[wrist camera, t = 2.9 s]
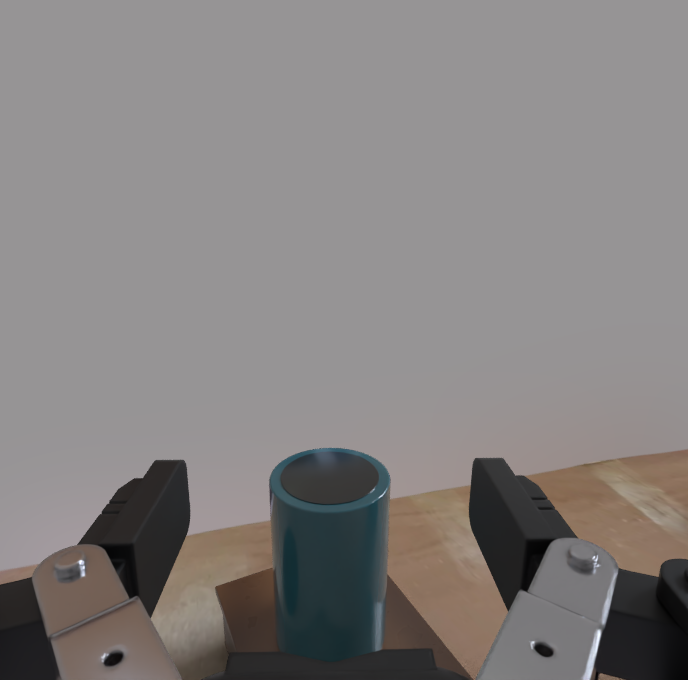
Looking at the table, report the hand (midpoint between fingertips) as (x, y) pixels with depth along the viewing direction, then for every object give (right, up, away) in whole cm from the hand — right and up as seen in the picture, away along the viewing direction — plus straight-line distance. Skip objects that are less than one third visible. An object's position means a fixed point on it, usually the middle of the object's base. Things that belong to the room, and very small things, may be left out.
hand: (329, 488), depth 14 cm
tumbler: (0, -13, +15) cm, 20 cm away
